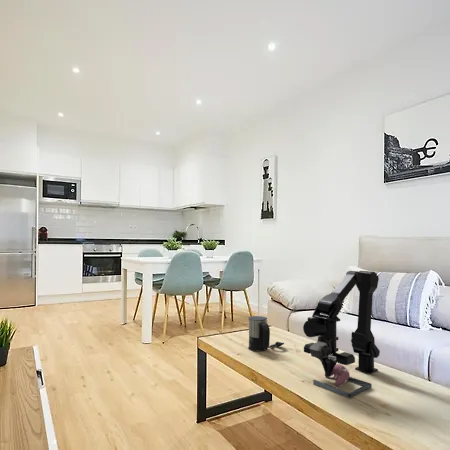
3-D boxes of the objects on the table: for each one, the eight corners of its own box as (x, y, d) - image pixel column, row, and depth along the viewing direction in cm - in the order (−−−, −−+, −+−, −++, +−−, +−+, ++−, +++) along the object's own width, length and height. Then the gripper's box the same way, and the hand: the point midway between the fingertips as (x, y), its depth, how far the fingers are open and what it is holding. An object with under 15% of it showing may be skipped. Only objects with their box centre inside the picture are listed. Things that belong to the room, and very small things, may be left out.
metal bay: (335, 375, 134) (335, 371, 134) (371, 388, 122) (371, 383, 123) (313, 384, 125) (313, 380, 125) (350, 398, 114) (350, 393, 114)
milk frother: (244, 348, 168) (244, 317, 169) (265, 342, 178) (265, 313, 179) (266, 355, 157) (266, 322, 158) (288, 348, 168) (288, 317, 169)
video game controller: (346, 390, 124) (354, 372, 125) (335, 385, 123) (343, 367, 124) (332, 380, 133) (340, 363, 134) (322, 375, 133) (330, 358, 134)
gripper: (294, 331, 131) (293, 373, 130) (337, 343, 117) (337, 391, 116) (313, 327, 138) (312, 367, 137) (355, 338, 124) (355, 383, 123)
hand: (328, 376), depth 128 cm, fingers closed
